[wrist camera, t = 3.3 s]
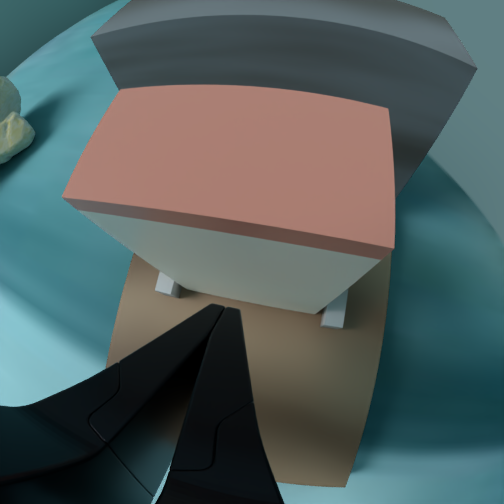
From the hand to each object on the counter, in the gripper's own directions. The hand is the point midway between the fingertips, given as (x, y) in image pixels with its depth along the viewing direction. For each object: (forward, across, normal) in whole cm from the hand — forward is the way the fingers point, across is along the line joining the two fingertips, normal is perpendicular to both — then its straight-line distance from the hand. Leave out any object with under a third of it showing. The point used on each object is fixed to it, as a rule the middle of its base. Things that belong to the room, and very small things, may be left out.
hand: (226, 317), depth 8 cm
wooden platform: (+6, 0, +3) cm, 7 cm away
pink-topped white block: (+5, 0, +2) cm, 6 cm away
